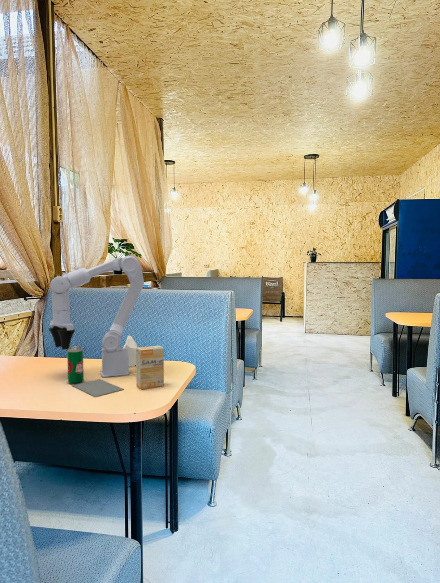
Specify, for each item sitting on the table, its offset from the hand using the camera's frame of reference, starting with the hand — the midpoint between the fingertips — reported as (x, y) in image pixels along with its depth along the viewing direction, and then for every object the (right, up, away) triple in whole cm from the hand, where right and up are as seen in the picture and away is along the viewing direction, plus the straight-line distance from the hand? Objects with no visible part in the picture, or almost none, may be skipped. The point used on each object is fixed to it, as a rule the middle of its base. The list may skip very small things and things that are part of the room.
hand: (62, 348), depth 142 cm
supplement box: (+33, -11, -11) cm, 37 cm away
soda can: (+7, -11, -6) cm, 15 cm away
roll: (+21, -9, +16) cm, 28 cm away
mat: (+16, -11, -12) cm, 24 cm away
